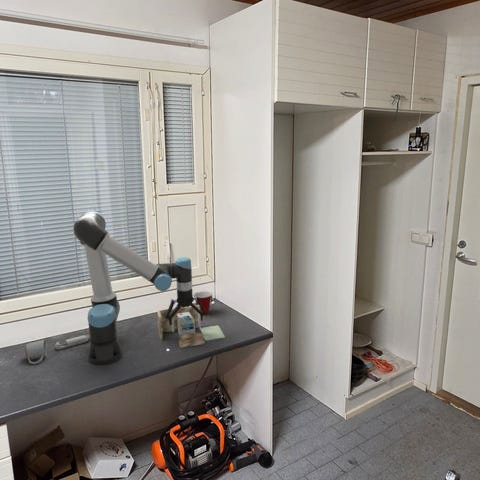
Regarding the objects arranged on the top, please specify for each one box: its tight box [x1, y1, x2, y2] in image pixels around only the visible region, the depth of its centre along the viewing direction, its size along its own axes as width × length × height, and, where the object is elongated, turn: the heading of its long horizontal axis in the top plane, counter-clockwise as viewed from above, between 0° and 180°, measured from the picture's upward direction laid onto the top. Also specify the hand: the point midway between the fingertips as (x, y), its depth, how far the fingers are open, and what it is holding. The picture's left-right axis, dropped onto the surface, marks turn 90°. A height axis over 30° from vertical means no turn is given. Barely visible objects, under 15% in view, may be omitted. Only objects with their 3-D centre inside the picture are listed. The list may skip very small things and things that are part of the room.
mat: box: [199, 325, 226, 342], centre depth 214 cm, size 10×14×1 cm
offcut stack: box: [178, 332, 206, 348], centre depth 202 cm, size 12×4×5 cm, turn 107°
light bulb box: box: [177, 312, 196, 336], centre depth 210 cm, size 11×7×11 cm, turn 22°
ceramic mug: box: [24, 339, 47, 365], centre depth 189 cm, size 11×8×8 cm
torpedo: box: [54, 334, 90, 351], centre depth 203 cm, size 18×5×7 cm, turn 125°
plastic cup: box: [192, 290, 213, 316], centre depth 237 cm, size 11×11×12 cm
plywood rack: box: [156, 304, 200, 341], centre depth 213 cm, size 22×10×12 cm, turn 107°
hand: (186, 328), depth 210 cm, fingers open, 13 cm apart
